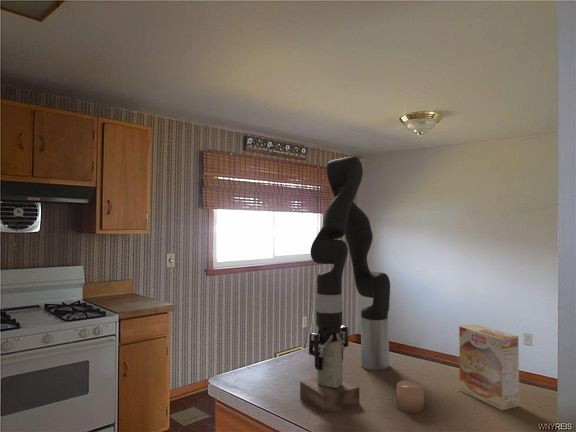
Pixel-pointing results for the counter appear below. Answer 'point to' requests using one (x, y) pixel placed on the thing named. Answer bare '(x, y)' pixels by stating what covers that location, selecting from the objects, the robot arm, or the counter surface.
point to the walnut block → (329, 395)
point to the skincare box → (331, 365)
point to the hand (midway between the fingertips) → (329, 366)
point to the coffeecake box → (489, 365)
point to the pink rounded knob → (410, 396)
